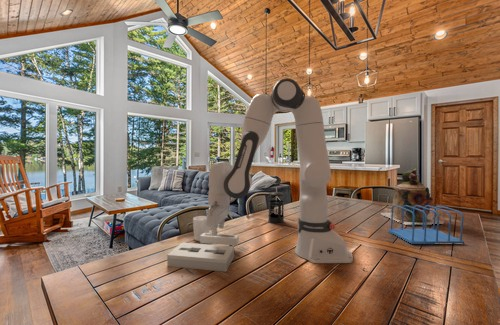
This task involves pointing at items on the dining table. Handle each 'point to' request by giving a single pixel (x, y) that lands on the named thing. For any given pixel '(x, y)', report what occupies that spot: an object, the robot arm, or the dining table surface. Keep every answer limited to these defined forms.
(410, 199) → the cookie jar
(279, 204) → the french press
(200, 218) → the white cup
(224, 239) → the cream rectangular block
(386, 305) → the dining table surface
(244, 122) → the robot arm
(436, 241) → the file sorter
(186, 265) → the mounting board
